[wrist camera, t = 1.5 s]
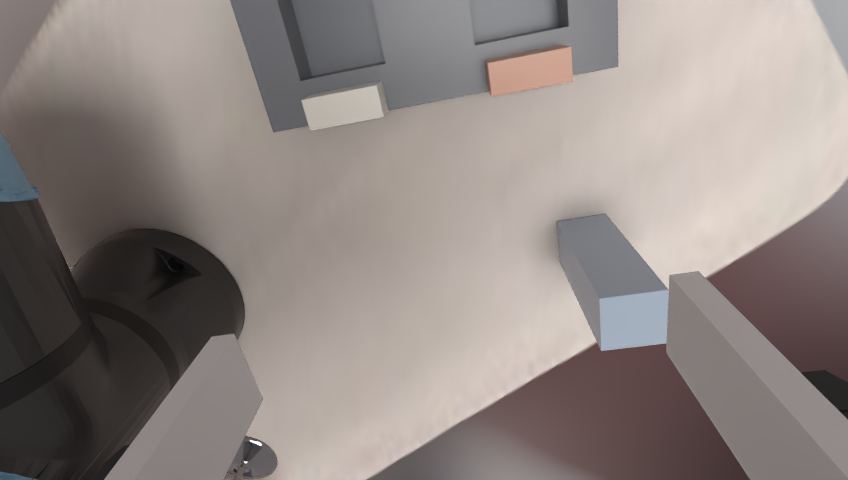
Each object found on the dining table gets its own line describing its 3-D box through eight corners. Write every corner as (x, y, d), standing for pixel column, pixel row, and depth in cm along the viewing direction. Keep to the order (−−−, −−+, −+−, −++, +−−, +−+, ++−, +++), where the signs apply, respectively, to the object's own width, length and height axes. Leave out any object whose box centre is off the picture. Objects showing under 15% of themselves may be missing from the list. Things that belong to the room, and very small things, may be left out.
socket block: (288, 122, 36) (260, 140, 31) (233, -54, 31) (188, -70, 26) (601, 62, 33) (632, 70, 28) (596, -143, 28) (632, -183, 23)
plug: (559, 262, 40) (601, 350, 29) (556, 221, 39) (599, 298, 28) (606, 255, 40) (666, 343, 29) (605, 213, 38) (668, 289, 27)
